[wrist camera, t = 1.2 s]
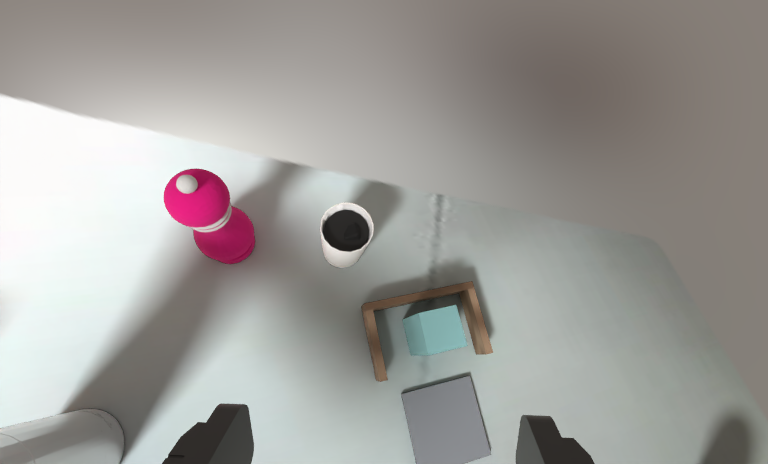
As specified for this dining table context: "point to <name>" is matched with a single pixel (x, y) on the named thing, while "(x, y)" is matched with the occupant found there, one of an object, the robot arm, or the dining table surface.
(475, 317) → the walnut cubby
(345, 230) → the white paper cup
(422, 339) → the teal block
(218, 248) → the pepper mill
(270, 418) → the dining table surface
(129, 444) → the dining table surface
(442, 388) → the slate mat
